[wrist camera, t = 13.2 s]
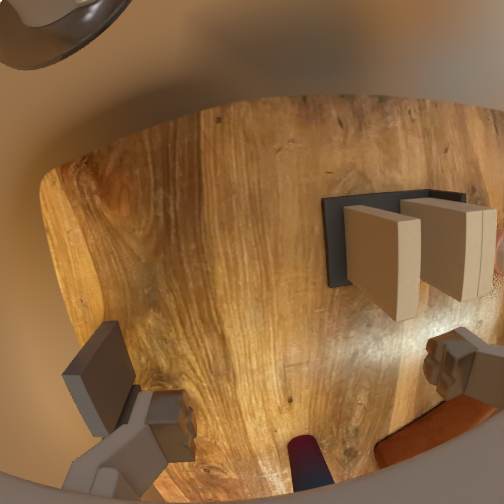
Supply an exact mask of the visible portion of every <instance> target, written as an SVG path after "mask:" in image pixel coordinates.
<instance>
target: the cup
mask: <svg viewBox="0 0 504 504" xmlns="http://www.w3.org/2000/svg"><path fill="white" fill-rule="evenodd" d="M288 454H289V461H290V468H291V476H292V483H293V491H294V492H299V491H304V490H309V489H314V488H318V487H322V486H326V485H330V484H334V480H333V478H332V476H331V473H330V471H329V469H328V467H327V464H326V462H325V460H324V457H323V455H322V453H321V450H320V448H319V446H318V443H317V441H316V439H315V438H314V437H313V436H309V435H302V436H298V437H296V438H294V439H292V440H291V441H290V442H289V444H288Z"/></svg>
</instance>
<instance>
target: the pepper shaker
mask: <svg viewBox="0 0 504 504" xmlns="http://www.w3.org/2000/svg"><path fill="white" fill-rule="evenodd" d="M494 273H497V274H499V275H504V229H502V228H498V227H497V228H496V250H495V263H494Z"/></svg>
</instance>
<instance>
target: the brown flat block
mask: <svg viewBox="0 0 504 504" xmlns="http://www.w3.org/2000/svg"><path fill="white" fill-rule="evenodd" d="M343 211H344V224H345V239H346V258H347V279H348V280H349V281H350V282H352V283H353V284H354V285H355V286H356V287H357V288H358V289H359V290H361V291H362V292H363V293H364V294H365V295H366V296H367V297H368V298H370V299H371V300H372V301H373V302H374V303H375V304H376V305H377V306H379V307H380V308H381V309H382V310H383V311H384V312H385V313H386V314H387V315H388V316H390V317H391V318H392V319H393V320H394V321H395V322H400V321H404V320H408V319H412V318H415V317H417V316H418V304H419V289H420V267H421V219H418V218H414V217H410V216H406V215H402V214H398V213H394V212H390V211H385V210H381V209H377V208H372V207H368V206H363V205H355V206H345V207H343Z"/></svg>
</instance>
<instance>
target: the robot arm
mask: <svg viewBox="0 0 504 504" xmlns="http://www.w3.org/2000/svg"><path fill="white" fill-rule="evenodd" d="M0 1H1V0H0ZM7 1H8V2H9V3H10V4H11V5H12V6H13V8H14V9H15V10H16V11H17V13H18V14H19V16H20V18H21V20H22V22H23V23H24V24H25V25H26V26H29V27H42V26H45V25H48V24H51V23H53V22H55V21H57V20H59V19H61V18H62V17H64V16H66V15H67V14H69V13H70V12H72V11H73V10H75V9H77V8H79V7H82V6H85V5H88V4H91V3H93V2H95V1H96V0H7ZM426 350H427V352H428V355H427V356H426V358H425V359H424V364H423V370H424V375H425V377H426V379H427V381H428V382H429V383H430V384H433V385H436V386H437V390H436V391H437V392H438V393H439V394H440V395H441V396H442V398H443V399H444V400H445V401H448V400H450V399H452V398H455V397H457V396H459V395H461V394H464V395H467V396H469V397H471V398H474V399H476V400H478V401H481V402H483V403H485V404H488V405H490V406H493V407H495V408H497V409H500V410H501V411H500V412H498V413H497V414H495V415H494V416H492V417H490V418H489V419H487V420H485V421H484V422H482V423H480V424H479V425H477V426H475V427H473V428H472V429H470V430H468V431H466V432H464V433H463V434H461V435H459V436H457V437H455V438H453V439H451V440H449V441H447V442H445V443H443V444H441V445H439V446H437V447H435V448H432V449H430V450H428V451H426V452H424V453H421V454H419V455H417V456H414V457H412V458H410V459H407V460H405V461H402V462H400V463H397V464H394V465H392V466H389V467H386V468H383V469H380V470H378V471H375V472H372V473H369V474H366V475H362V476H359V477H356V478H352V479H349V480H345V481H342V482H338V483H334V484H330V485H326V486H322V487H318V488H314V489H309V490H304V491H299V492H294V493H289V494H283V495H277V496H270V497H263V498H255V499H247V500H236V501H224V502H204V503H165V502H145V501H141V500H140V497H141V496H142V495H143V494H144V493H145V492H146V490H147V489H148V488H149V487H150V486H151V485H152V483H153V482H154V481H155V480H156V479H157V477H158V476H159V475H160V474H161V473H162V471H163V470H164V469H165V468H166V467H167V465H168V463H174V462H192V461H195V453H196V445H195V442H194V440H193V439H194V438H195V437H196V436H197V422H196V417H195V413H194V410H193V409H192V408H191V407H190V406H189V401H190V398H189V396H188V393H187V391H186V390H185V389H180V390H158V391H140V392H139V393H138V395H137V398H136V400H135V403H134V406H133V409H132V412H131V415H130V418H129V421H128V424H123V425H122V426H120V427H119V428H118V429H116V430H115V431H114V432H112V433H111V434H110V435H108V436H107V437H106V438H104V439H103V440H102V441H100V442H99V443H98V444H96V445H95V446H94V447H92V448H91V449H89V450H88V451H87V452H85V453H84V454H83V455H81V456H80V457H78V458H77V459H76V460H75V461H73V462H72V464H71V466H70V469H69V471H68V473H67V476H66V478H65V481H64V483H63V486H62V488H61V489H58V488H54V487H50V486H46V485H42V484H39V483H35V482H31V481H28V480H25V479H22V478H19V477H16V476H13V475H9V474H7V473H4V472H1V471H0V504H504V346H500V345H495V344H490V345H488V344H487V343H485V342H484V341H483V340H481V339H480V338H479V337H477V336H476V335H474V334H473V333H472V332H470V331H469V330H468V329H466V328H465V327H459V328H456V329H454V330H451V331H450V332H447V333H444V334H442V335H439V336H436V337H433V338H430V339H429V340H428V342H427V345H426Z"/></svg>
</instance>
